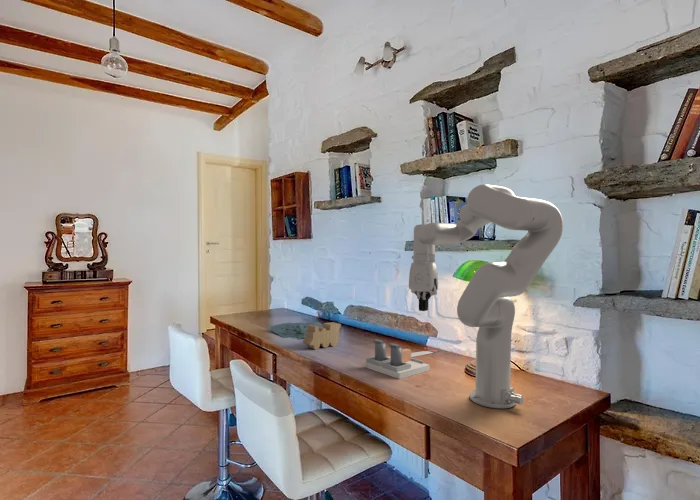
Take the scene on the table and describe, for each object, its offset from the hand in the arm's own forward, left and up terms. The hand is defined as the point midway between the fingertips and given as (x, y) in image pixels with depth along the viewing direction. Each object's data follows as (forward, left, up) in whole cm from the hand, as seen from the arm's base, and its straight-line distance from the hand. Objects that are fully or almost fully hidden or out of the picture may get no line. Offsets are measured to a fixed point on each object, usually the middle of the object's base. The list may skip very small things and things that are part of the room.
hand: (423, 310), depth 142 cm
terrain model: (+83, -4, -23) cm, 86 cm away
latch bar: (+9, 0, -20) cm, 22 cm away
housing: (+8, +4, -22) cm, 24 cm away
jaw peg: (+5, +8, -20) cm, 22 cm away
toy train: (+52, +6, -22) cm, 57 cm away
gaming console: (+20, -19, -23) cm, 36 cm away
